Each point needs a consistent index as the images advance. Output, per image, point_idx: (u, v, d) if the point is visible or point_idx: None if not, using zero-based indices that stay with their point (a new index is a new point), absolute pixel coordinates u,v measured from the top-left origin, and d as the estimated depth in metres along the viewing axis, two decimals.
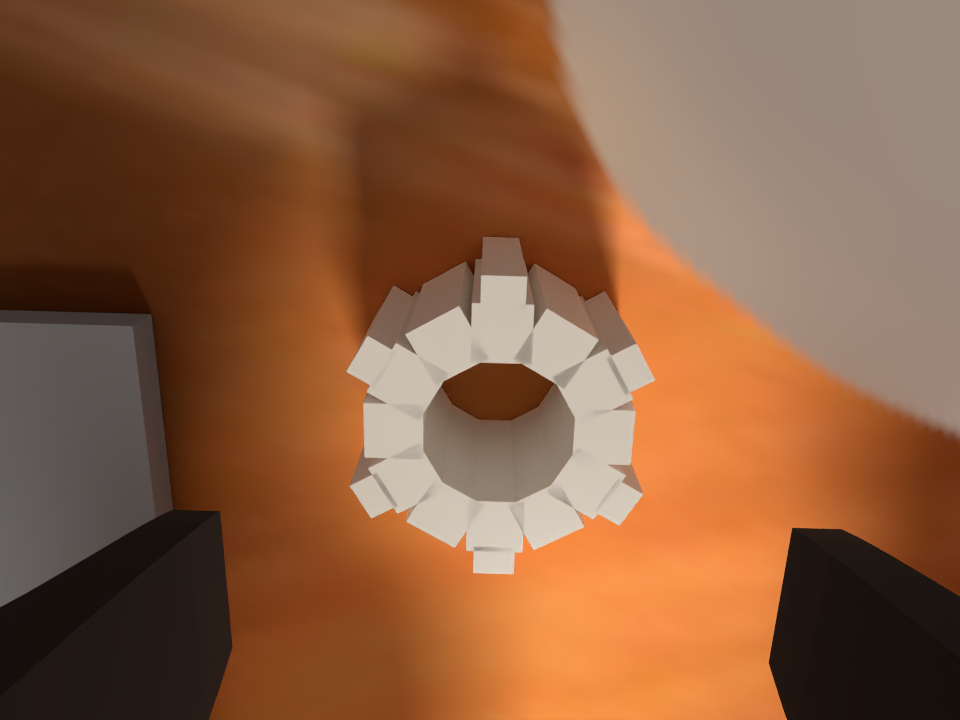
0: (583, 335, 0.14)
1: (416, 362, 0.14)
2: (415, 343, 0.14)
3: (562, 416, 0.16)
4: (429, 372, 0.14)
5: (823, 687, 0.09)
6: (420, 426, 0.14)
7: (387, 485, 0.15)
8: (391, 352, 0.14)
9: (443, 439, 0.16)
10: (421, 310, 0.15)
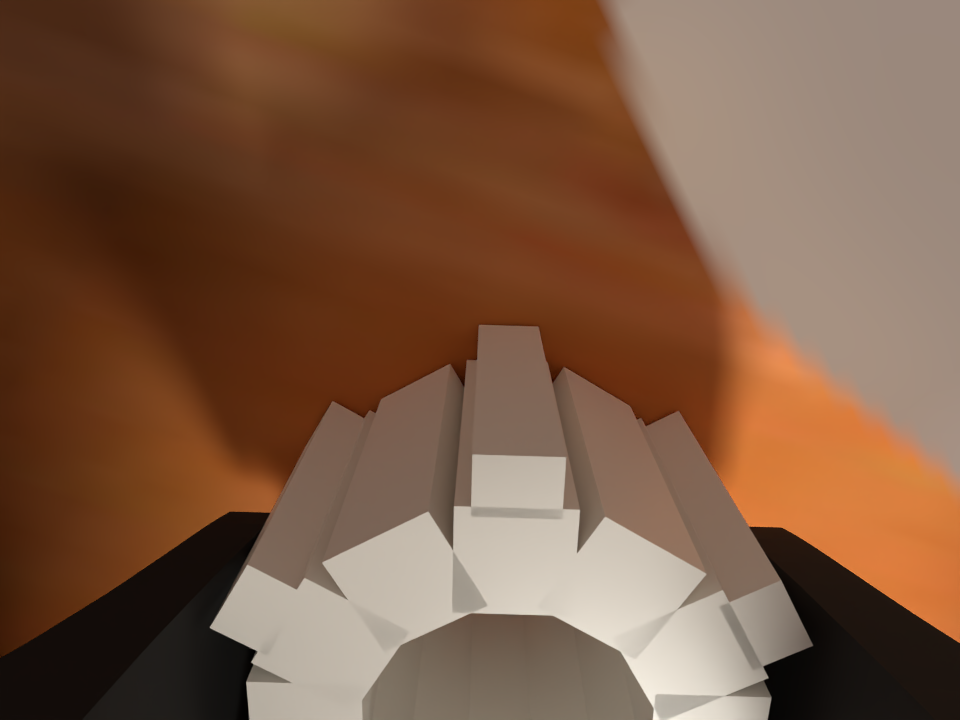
0: (676, 566, 0.07)
1: (346, 612, 0.07)
2: (342, 579, 0.07)
3: None
4: (371, 630, 0.07)
5: None
6: None
7: None
8: (296, 593, 0.07)
9: (408, 687, 0.09)
10: (363, 486, 0.08)
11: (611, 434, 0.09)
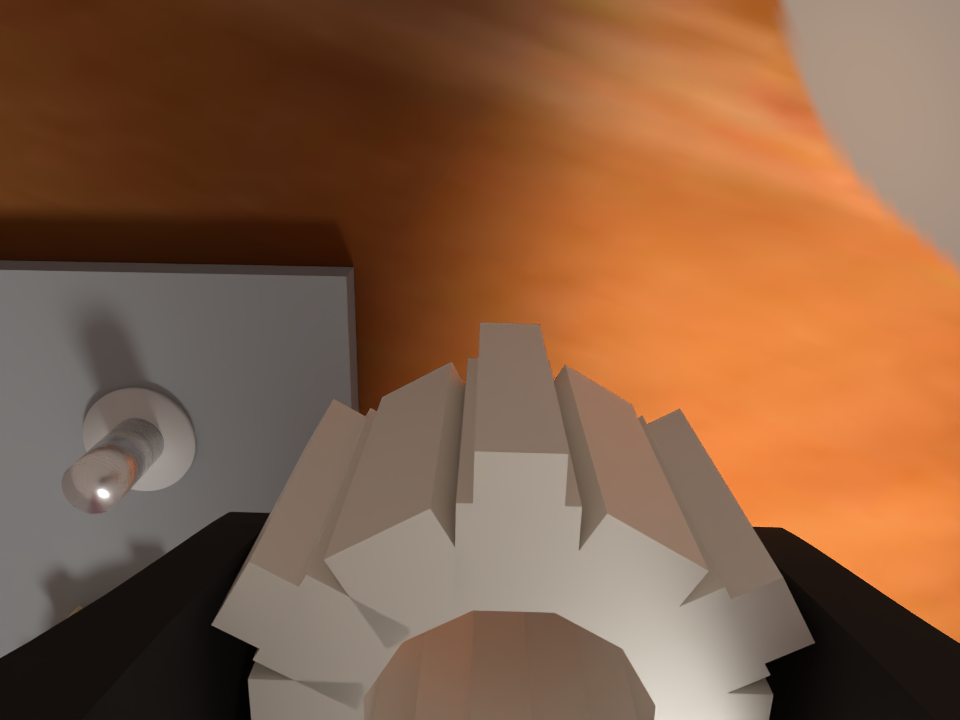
0: (678, 564, 0.07)
1: (348, 610, 0.07)
2: (344, 576, 0.07)
3: None
4: (374, 626, 0.07)
5: None
6: (358, 719, 0.08)
7: None
8: (298, 590, 0.07)
9: (410, 684, 0.09)
10: (365, 483, 0.08)
11: (613, 432, 0.09)
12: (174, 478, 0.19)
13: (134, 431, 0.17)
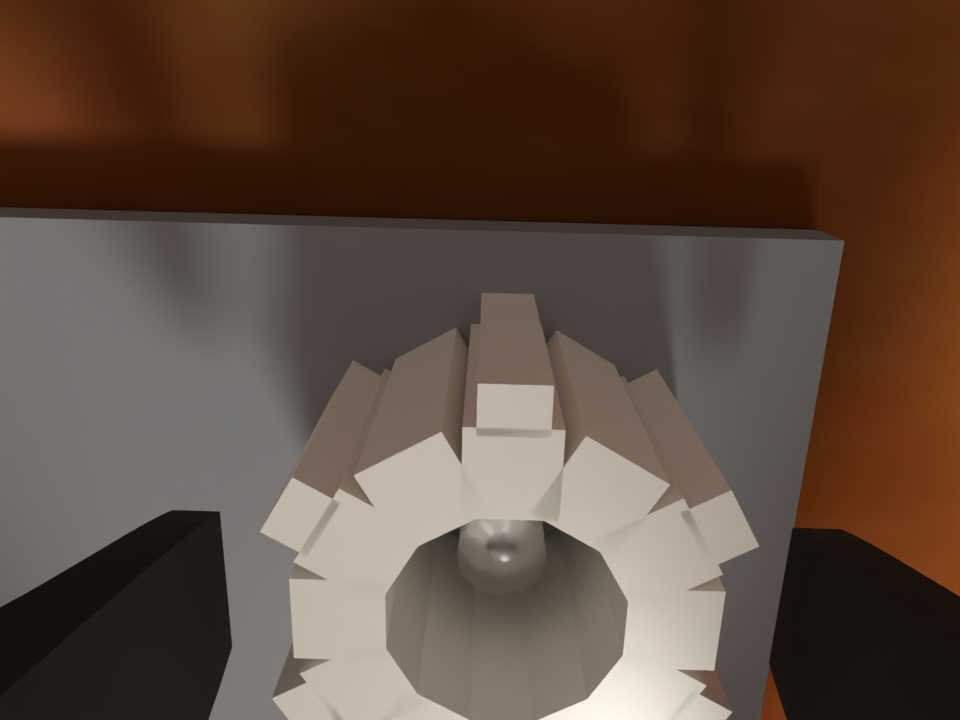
0: (645, 478, 0.08)
1: (373, 518, 0.09)
2: (370, 489, 0.09)
3: (599, 564, 0.11)
4: (394, 532, 0.09)
5: (823, 687, 0.09)
6: (381, 613, 0.09)
7: (331, 697, 0.09)
8: (332, 502, 0.09)
9: (421, 601, 0.11)
10: (385, 421, 0.10)
11: (595, 382, 0.11)
12: None
13: None
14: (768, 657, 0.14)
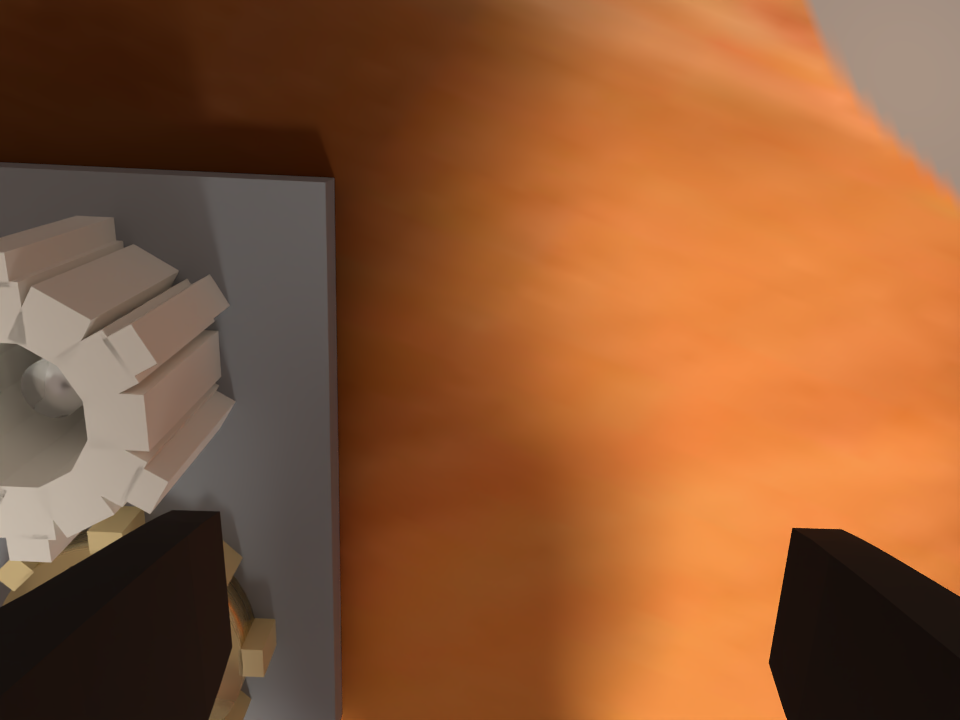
0: (73, 315, 0.13)
1: None
2: None
3: None
4: None
5: (823, 687, 0.09)
6: None
7: None
8: None
9: (4, 423, 0.16)
10: None
11: (119, 272, 0.15)
12: None
13: None
14: (332, 499, 0.19)
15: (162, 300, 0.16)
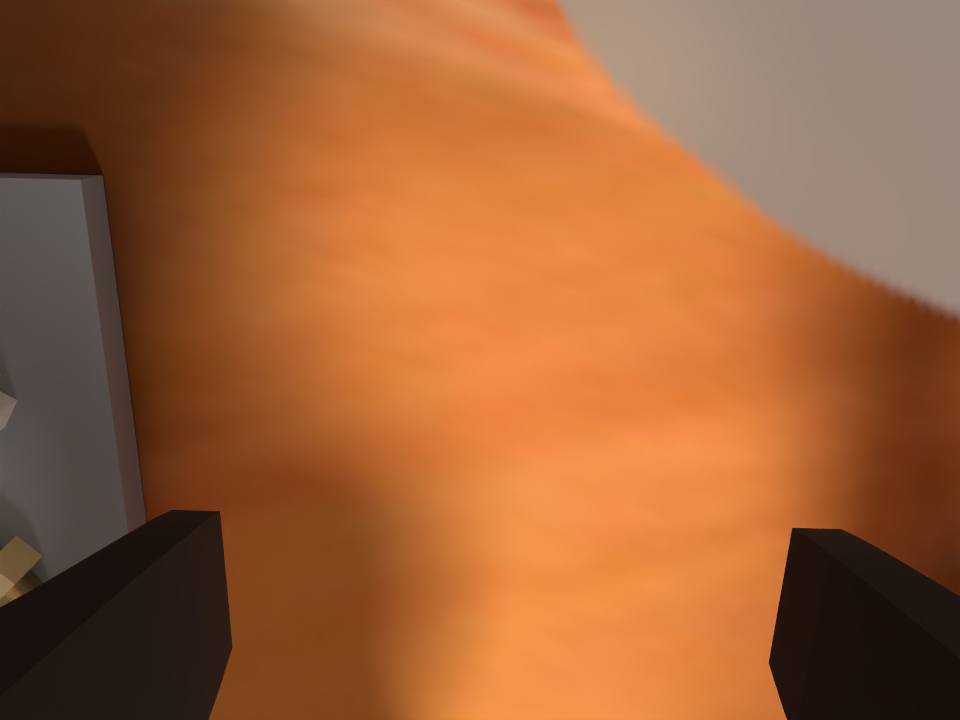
0: None
1: None
2: None
3: None
4: None
5: (823, 687, 0.09)
6: None
7: None
8: None
9: None
10: None
11: None
12: None
13: None
14: (125, 496, 0.19)
15: None
